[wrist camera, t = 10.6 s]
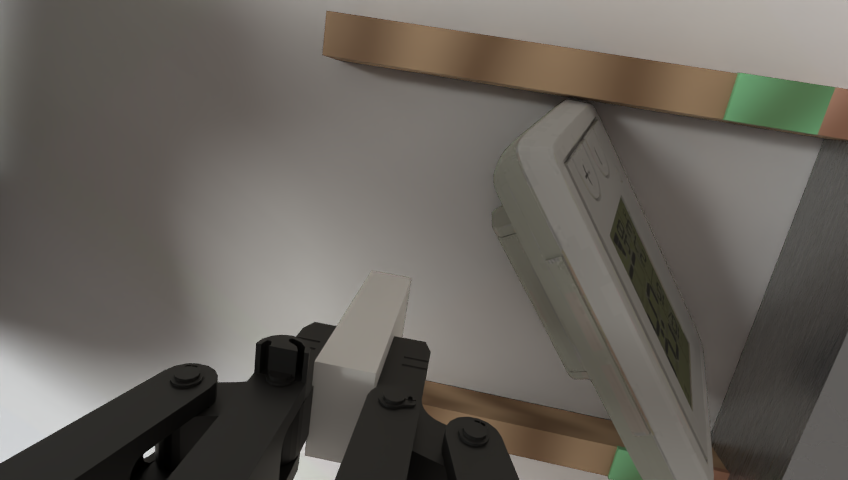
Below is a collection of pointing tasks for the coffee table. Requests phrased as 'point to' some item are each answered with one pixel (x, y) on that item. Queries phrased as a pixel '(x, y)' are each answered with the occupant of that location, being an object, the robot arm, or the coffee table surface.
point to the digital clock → (605, 289)
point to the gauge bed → (595, 81)
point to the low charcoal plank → (797, 348)
